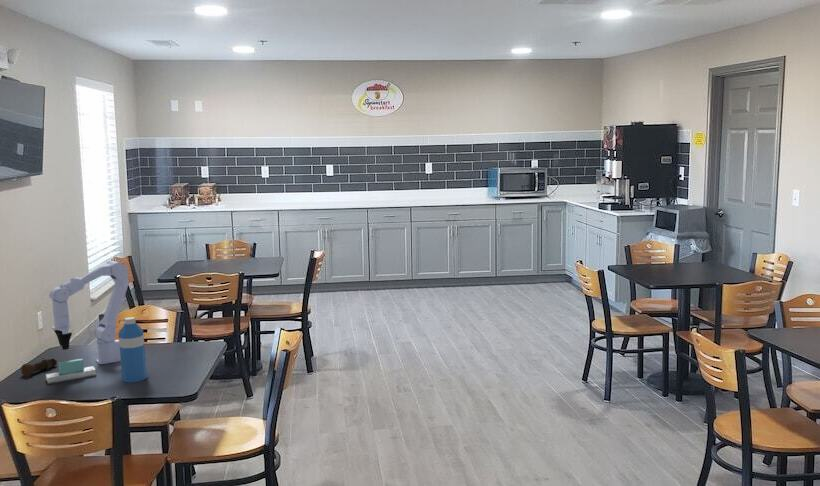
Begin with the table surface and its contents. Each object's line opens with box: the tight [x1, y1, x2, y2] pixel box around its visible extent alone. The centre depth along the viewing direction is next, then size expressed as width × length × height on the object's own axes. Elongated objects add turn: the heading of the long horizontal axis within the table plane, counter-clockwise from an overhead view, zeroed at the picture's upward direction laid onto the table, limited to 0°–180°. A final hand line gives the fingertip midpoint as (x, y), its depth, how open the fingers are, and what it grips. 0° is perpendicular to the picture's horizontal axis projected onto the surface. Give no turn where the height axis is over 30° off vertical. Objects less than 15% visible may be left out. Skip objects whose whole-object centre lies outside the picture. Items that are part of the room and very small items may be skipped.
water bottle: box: [118, 316, 148, 383], centre depth 307 cm, size 9×9×25 cm
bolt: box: [20, 358, 58, 377], centre depth 324 cm, size 6×5×15 cm
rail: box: [45, 365, 97, 385], centre depth 313 cm, size 18×6×2 cm, turn 122°
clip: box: [57, 358, 85, 375], centre depth 313 cm, size 9×2×6 cm, turn 122°
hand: (64, 347), depth 323 cm, fingers open, 7 cm apart
